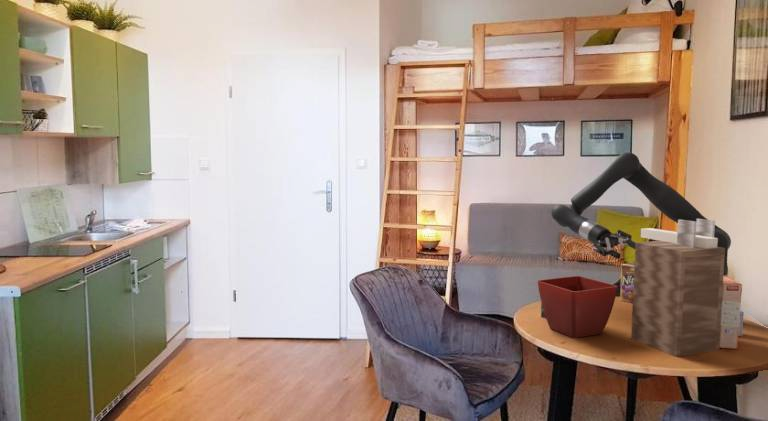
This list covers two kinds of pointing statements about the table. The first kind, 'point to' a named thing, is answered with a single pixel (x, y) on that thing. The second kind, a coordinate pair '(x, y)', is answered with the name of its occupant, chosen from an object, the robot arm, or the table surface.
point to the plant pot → (577, 304)
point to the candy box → (627, 283)
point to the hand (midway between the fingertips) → (628, 251)
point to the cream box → (672, 237)
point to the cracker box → (730, 313)
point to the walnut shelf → (679, 292)
